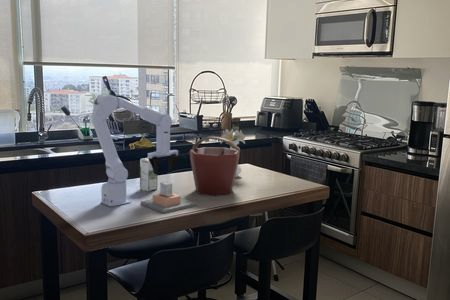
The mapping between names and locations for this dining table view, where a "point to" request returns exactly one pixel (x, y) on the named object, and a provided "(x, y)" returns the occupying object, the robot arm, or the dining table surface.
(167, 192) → the steel block
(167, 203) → the well board
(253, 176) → the dining table surface
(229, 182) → the bucket
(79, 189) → the dining table surface
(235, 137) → the flower vase
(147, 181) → the syrup box
